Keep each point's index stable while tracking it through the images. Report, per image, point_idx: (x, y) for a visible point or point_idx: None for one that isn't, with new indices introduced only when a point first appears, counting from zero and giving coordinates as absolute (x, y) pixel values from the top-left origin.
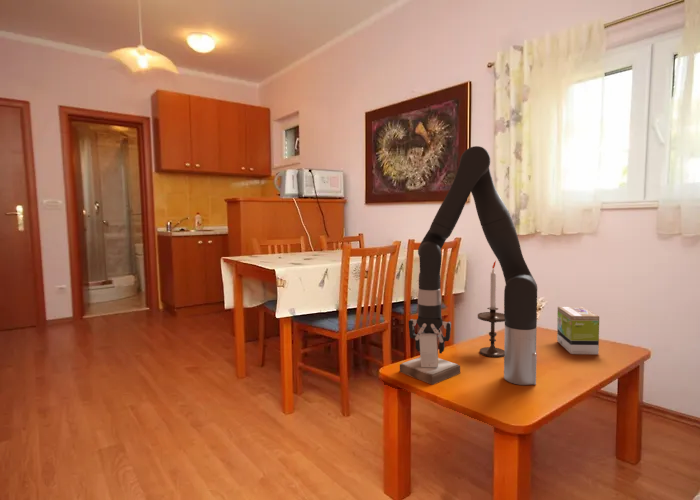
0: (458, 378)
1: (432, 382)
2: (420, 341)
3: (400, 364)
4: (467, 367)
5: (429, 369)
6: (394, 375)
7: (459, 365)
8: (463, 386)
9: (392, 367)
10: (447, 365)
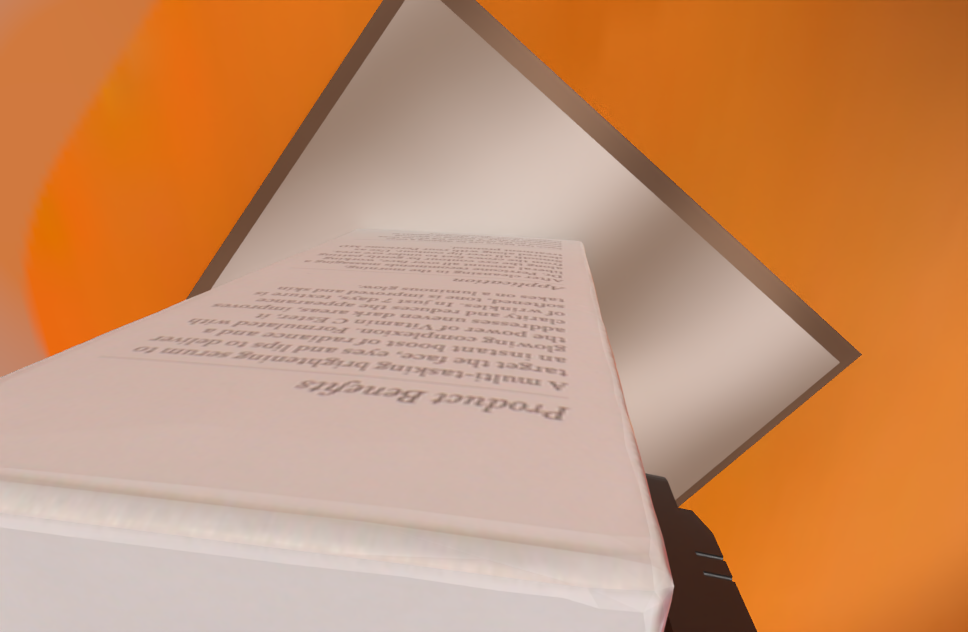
0: (758, 451)
1: None
2: None
3: None
4: (963, 112)
5: None
6: None
7: (852, 352)
8: (765, 603)
9: (75, 241)
10: (686, 414)
